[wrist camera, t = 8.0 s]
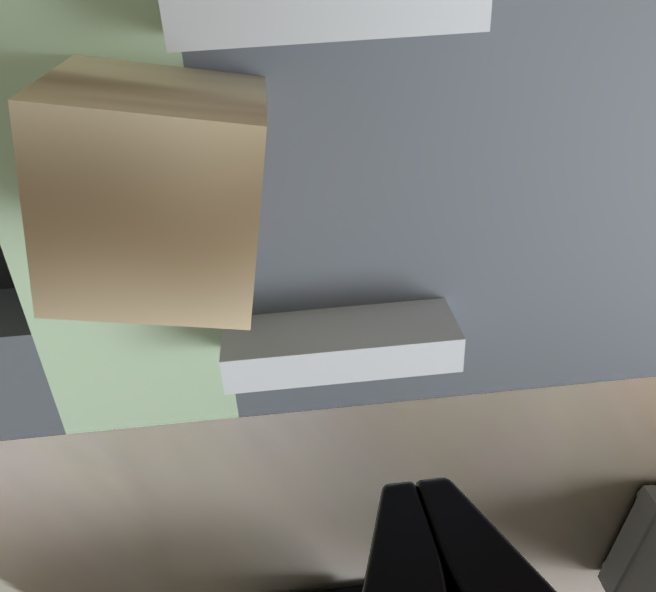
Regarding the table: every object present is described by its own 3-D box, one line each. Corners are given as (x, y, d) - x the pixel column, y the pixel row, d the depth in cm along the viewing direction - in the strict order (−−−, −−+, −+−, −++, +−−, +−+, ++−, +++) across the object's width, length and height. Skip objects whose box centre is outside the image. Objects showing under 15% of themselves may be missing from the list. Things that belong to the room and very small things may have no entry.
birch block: (252, 241, 16) (250, 330, 12) (85, 229, 15) (33, 318, 12) (265, 76, 14) (266, 126, 10) (73, 54, 13) (8, 99, 10)
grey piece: (644, 319, 22) (738, 415, 18) (-66, 385, 21) (-151, 507, 16) (770, -182, 15) (978, -226, 10) (-306, -131, 13) (-575, -158, 9)
